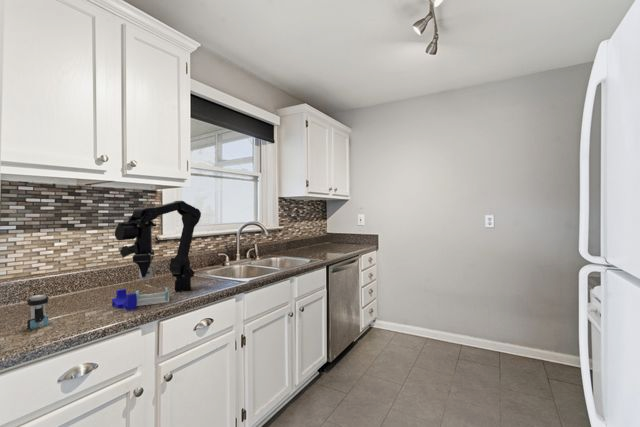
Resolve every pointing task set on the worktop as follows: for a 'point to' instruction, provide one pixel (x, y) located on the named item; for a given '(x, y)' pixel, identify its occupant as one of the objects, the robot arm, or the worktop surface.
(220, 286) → the worktop surface
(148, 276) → the usb wall charger
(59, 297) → the worktop surface
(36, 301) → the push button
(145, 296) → the end holder
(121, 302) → the cable clip
